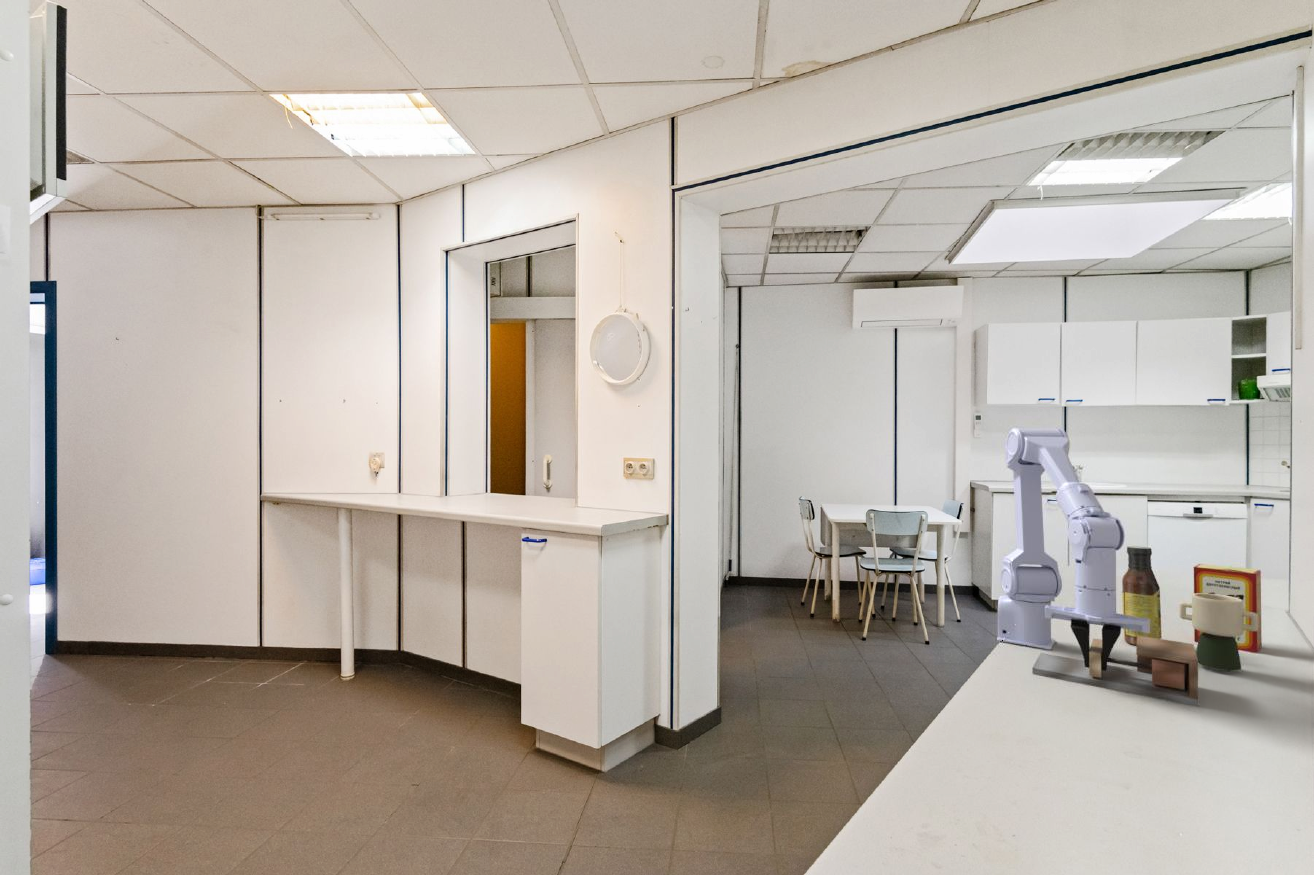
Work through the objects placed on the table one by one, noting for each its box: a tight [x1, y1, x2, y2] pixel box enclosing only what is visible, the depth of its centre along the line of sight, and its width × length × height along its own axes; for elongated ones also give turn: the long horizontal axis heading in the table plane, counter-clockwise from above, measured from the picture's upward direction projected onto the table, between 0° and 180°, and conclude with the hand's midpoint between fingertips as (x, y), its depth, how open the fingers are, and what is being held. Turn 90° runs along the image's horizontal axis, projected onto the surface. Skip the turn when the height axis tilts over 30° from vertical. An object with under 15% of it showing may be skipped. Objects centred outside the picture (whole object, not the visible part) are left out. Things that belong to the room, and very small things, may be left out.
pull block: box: [1089, 637, 1184, 690], centre depth 104 cm, size 12×10×4 cm
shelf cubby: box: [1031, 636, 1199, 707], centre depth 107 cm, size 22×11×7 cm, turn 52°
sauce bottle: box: [1121, 545, 1162, 647], centre depth 128 cm, size 6×6×20 cm
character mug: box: [1178, 593, 1258, 672], centre depth 113 cm, size 11×7×13 cm, turn 36°
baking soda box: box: [1193, 563, 1263, 654], centre depth 129 cm, size 10×6×16 cm
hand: (1095, 667), depth 105 cm, fingers closed on pull block, 2 cm apart
